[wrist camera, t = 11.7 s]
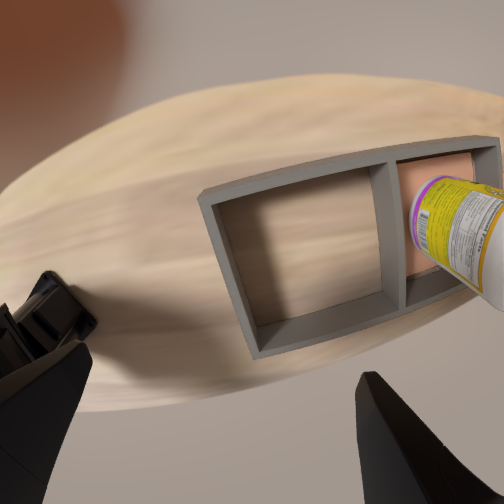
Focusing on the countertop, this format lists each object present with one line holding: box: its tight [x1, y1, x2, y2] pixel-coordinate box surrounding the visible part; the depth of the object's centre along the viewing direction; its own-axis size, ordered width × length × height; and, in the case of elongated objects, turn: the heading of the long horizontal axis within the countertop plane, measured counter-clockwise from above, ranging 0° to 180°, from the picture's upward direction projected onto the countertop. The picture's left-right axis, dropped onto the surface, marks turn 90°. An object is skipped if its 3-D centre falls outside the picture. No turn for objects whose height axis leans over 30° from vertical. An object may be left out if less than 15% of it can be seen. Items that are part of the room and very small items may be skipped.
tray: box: [197, 135, 504, 360], centre depth 17 cm, size 24×12×5 cm, turn 105°
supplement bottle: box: [409, 175, 504, 311], centre depth 13 cm, size 7×7×13 cm
